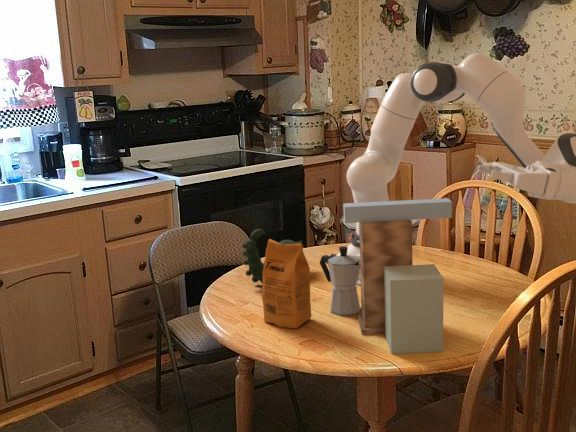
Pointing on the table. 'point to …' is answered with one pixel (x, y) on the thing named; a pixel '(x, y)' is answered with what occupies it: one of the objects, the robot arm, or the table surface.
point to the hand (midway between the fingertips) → (484, 171)
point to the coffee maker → (342, 281)
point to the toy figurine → (254, 258)
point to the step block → (413, 308)
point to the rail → (397, 210)
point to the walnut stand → (380, 266)
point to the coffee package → (286, 285)
